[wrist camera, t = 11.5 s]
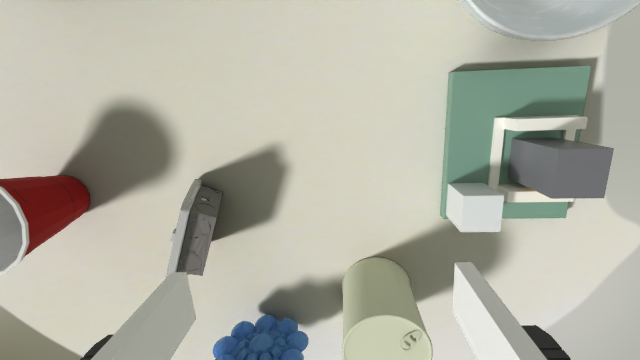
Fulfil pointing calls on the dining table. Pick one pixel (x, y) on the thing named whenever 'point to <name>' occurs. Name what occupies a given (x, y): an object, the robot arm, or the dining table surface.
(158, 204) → the dining table surface
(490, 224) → the plug
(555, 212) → the board
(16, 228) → the plastic cup
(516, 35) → the serving bowl
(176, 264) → the electrical switch
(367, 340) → the can
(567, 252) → the dining table surface
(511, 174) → the plug
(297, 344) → the grapes
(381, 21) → the dining table surface
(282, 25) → the dining table surface
